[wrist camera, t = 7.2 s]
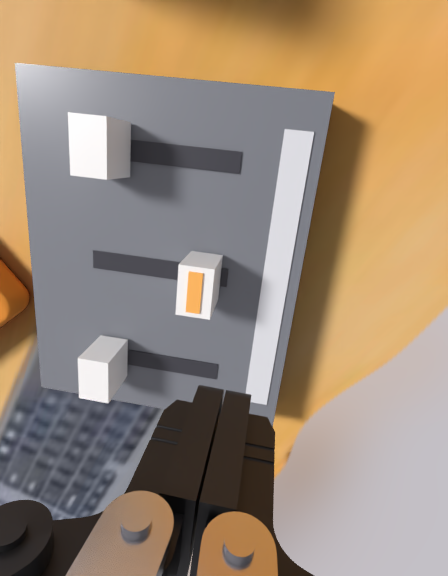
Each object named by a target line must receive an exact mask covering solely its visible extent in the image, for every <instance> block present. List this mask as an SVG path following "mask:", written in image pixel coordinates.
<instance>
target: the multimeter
mask: <svg viewBox="0 0 448 576" xmlns="http://www.w3.org/2000/svg"><path fill="white" fill-rule="evenodd" d="M28 303H29V293H28V290H27V289H26V287H25V286H24V285H23V284H22V283H21V282H20V281H19V279H18V278H17V277H16V276H15V275H14V274H13V273H12V272H11V270H10V269H9V268H8V267H7V266H6V265H5V264H4V263H3V261H2V260H1V259H0V327H2V326H3V325H4V324H6V323H7V322H8V321H10V320H11V319H12V318H14V317H15V316H16V315H18V314H19V313H20V312H22V311H23V310H24V309H25V308H26V306H27V305H28Z"/></svg>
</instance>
